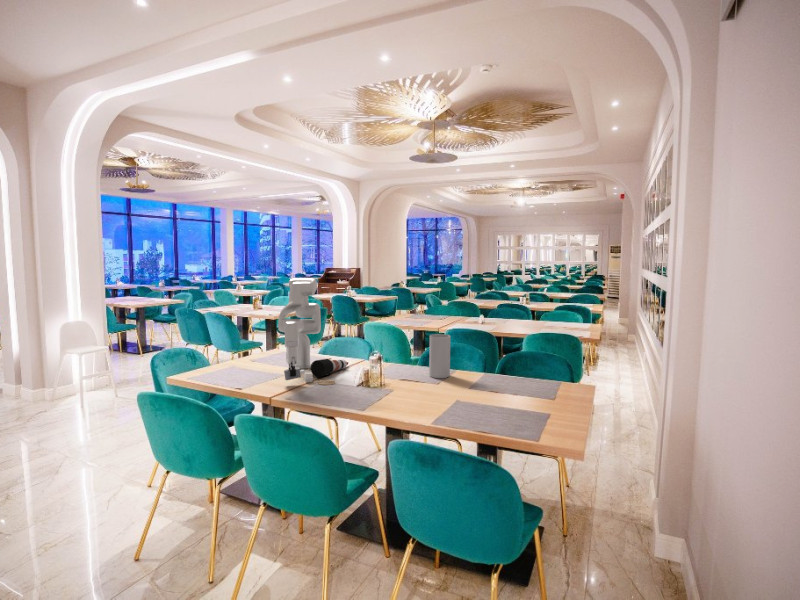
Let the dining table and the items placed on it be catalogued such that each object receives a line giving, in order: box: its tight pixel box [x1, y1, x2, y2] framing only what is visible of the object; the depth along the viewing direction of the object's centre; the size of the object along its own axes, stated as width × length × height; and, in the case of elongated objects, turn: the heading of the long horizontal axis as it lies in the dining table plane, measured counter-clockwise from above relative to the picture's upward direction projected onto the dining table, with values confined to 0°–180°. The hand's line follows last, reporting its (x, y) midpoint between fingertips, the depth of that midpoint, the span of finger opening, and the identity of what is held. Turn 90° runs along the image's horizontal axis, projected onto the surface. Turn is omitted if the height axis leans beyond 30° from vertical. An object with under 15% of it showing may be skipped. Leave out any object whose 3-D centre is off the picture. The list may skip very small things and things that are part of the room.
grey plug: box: [283, 367, 306, 381], centre depth 257 cm, size 11×4×5 cm, turn 111°
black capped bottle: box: [309, 358, 349, 378], centre depth 287 cm, size 10×34×10 cm, turn 155°
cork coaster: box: [317, 379, 336, 386], centre depth 262 cm, size 10×10×1 cm
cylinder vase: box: [428, 333, 451, 379], centre depth 277 cm, size 12×12×25 cm
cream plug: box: [303, 369, 314, 383], centre depth 266 cm, size 11×4×5 cm, turn 21°
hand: (292, 374), depth 257 cm, fingers closed on grey plug, 4 cm apart
